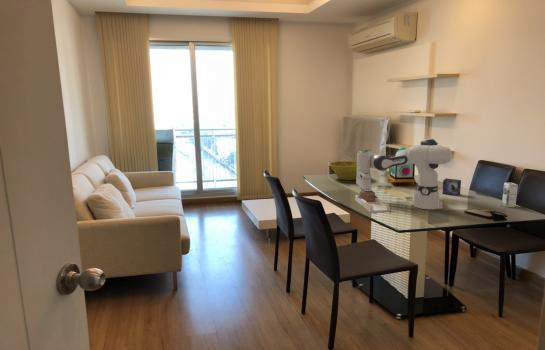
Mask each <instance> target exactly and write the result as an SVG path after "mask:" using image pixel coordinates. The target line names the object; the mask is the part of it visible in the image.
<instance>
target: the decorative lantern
mask: <svg viewBox="0 0 545 350" xmlns="http://www.w3.org/2000/svg"><path fill="white" fill-rule="evenodd" d="M405 149H407V148H406V147H405V146H401V147H399V149H398V151H400V150H405ZM398 151H397V152H398ZM395 155H396V153H395V154H392V155H390V156H389V157H395ZM388 170H389V176H388V177H387V182H388V183H390V182H392V183H393V187H396V184H409V183H413V186H414V187H415V186H416V185H417V181H416V180H415V171H416V166H415V164H410V165H398V166H393V167H390V168H388Z"/></svg>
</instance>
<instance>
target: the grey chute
mask: <svg viewBox="0 0 545 350" xmlns="http://www.w3.org/2000/svg"><path fill="white" fill-rule="evenodd" d="M354 197H355V199H354V200H355V201H356V203H358V205H360V206H362V207H363V208H365V210H367V211H368V212H369V213H382V212H384V213H385V212H390V205H389V204H388V203H386V202H385V201H383V200H381V199H379V197H378V196H377V195H375V201H373V202H366V201H365V200H364V199H362V197H361V196H360V195H358V194H356V195H355V196H354Z"/></svg>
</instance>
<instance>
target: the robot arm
mask: <svg viewBox="0 0 545 350" xmlns="http://www.w3.org/2000/svg"><path fill="white" fill-rule="evenodd" d="M395 154H396V155H395ZM395 154H394V155H395V157H390V156H386V155H381V154H377V153H375V152H372V151H370V150H369V149H362V150H359V151H358V152H357V155H356V156H357V157H356V161H357V176H356V179H355V180H356V181H355V183H356V185H357V186H359V188H360V191H371V190H370V189H371V186H372V178H373V176H372V174H371V169H375V170H377V171H381V172H382V171H383V172H384V171H386V170H389V168H390V167H393V166H398V165H410V164H415V168H416V169H417V173H418V182H417V183H418V184H417V187H416V191H415V192H414V199H413V202H411V203H410V205H411V206H413V207H415V208H418V209H421V210H422V209H423V210H440V209H443V201H442V200H441V199H440V193H439V187H438V177H439V175H438V172H437V171H436V170H435V169H438V167H439V165H445V164H448V163H450V162H451V160H452V158H453V152H452V150H451V149H450V147H447V146H443V145H441V144H439V142H437V141H436V139H434V138H429V137H428V138H425V139H423V140H421V141H420V144H415V145H411V146H410V147H409V149H408V148H406V149H405V150H400V151H396V153H395Z"/></svg>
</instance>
